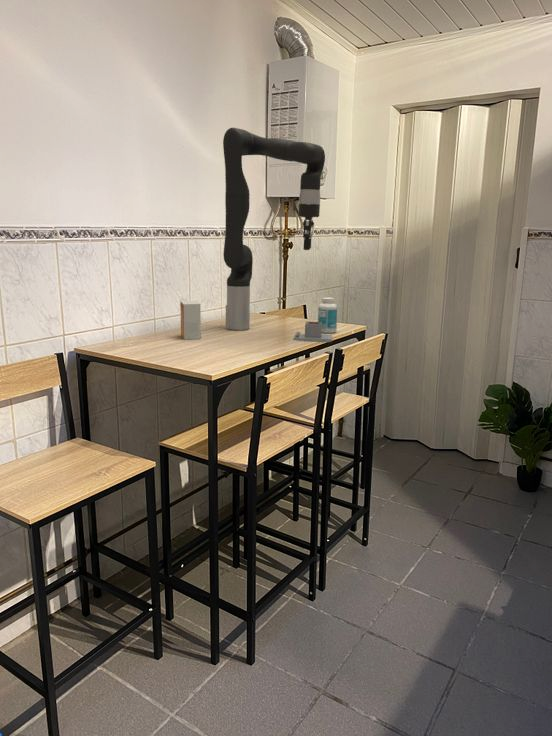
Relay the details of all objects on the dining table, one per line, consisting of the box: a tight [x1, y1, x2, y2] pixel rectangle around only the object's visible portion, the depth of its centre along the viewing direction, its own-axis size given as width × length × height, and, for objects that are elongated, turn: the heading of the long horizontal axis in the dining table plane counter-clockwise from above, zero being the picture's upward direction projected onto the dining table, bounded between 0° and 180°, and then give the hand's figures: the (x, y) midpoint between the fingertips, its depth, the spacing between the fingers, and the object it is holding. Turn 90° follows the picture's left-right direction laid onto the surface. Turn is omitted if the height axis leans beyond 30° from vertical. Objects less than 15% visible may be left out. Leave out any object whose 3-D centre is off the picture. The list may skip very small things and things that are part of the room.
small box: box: [179, 300, 202, 340], centre depth 212 cm, size 8×6×13 cm
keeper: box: [293, 331, 333, 343], centre depth 215 cm, size 14×9×5 cm, turn 84°
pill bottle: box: [317, 297, 338, 334], centre depth 229 cm, size 8×7×14 cm
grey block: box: [304, 321, 322, 338], centre depth 214 cm, size 6×6×5 cm
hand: (307, 249), depth 210 cm, fingers open, 8 cm apart
